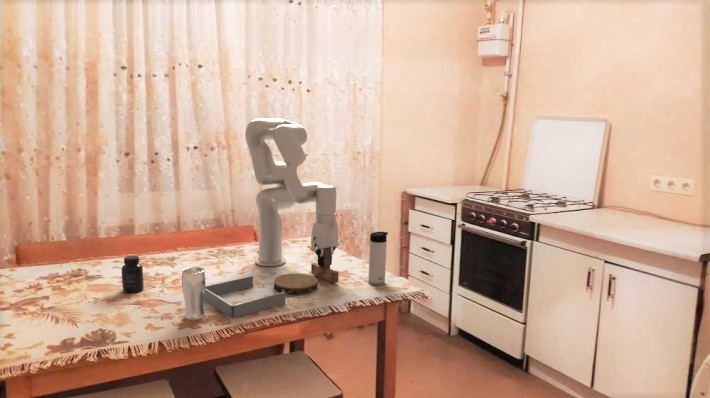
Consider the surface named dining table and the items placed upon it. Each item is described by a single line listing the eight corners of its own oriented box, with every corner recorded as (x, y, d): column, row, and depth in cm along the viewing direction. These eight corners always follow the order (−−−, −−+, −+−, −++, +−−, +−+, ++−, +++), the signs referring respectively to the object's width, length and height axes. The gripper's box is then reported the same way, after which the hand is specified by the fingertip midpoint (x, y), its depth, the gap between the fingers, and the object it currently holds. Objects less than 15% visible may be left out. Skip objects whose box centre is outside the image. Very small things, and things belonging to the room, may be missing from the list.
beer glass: (185, 311, 164) (184, 266, 161) (208, 311, 164) (207, 266, 162) (180, 320, 157) (178, 273, 154) (203, 320, 157) (202, 273, 155)
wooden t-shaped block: (310, 273, 201) (310, 244, 199) (316, 272, 203) (316, 243, 201) (333, 283, 191) (333, 252, 189) (339, 281, 193) (340, 251, 191)
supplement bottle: (148, 288, 183) (146, 256, 181) (134, 294, 176) (132, 261, 174) (132, 285, 185) (130, 253, 183) (118, 292, 179) (116, 258, 176)
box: (201, 298, 175) (200, 286, 175) (251, 285, 188) (251, 275, 188) (232, 318, 160) (232, 306, 159) (285, 303, 173) (285, 292, 172)
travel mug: (384, 286, 192) (386, 234, 188) (367, 285, 193) (368, 233, 189) (386, 281, 198) (388, 230, 194) (369, 279, 199) (371, 229, 195)
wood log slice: (325, 290, 187) (325, 282, 186) (286, 299, 178) (286, 290, 177) (304, 278, 199) (304, 270, 199) (266, 285, 190) (266, 277, 190)
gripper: (335, 213, 201) (334, 258, 205) (302, 218, 190) (301, 266, 194) (348, 217, 196) (347, 263, 199) (314, 222, 185) (313, 271, 188)
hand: (324, 264), depth 196 cm, fingers closed on wooden t-shaped block, 3 cm apart
